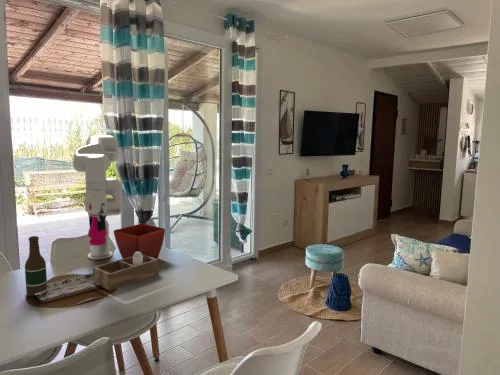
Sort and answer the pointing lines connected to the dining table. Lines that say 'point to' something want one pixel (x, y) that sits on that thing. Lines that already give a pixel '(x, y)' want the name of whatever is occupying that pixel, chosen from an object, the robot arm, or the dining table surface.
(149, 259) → the caddy
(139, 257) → the salt shaker
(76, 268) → the dining table surface
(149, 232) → the plant pot
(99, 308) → the dining table surface
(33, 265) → the beer bottle
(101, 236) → the pepper mill
